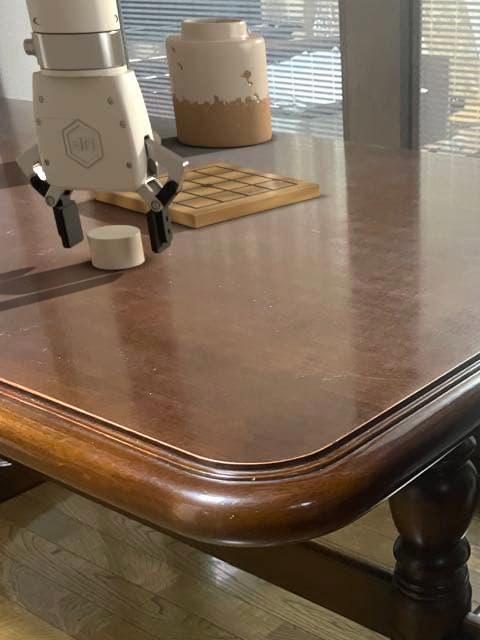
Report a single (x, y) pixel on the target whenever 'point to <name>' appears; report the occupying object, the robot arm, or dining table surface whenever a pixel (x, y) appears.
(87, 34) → the robot arm
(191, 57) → the vase
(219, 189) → the board
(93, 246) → the cylinder
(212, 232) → the dining table surface
